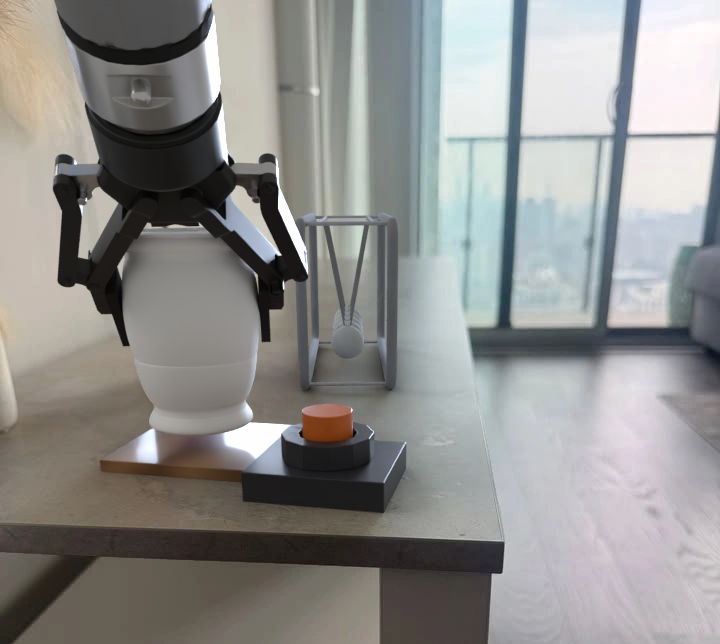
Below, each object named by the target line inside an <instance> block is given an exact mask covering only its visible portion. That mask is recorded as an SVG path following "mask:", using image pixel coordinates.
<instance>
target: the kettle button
mask: <svg viewBox="0 0 720 644" xmlns="http://www.w3.org/2000/svg"><path fill="white" fill-rule="evenodd" d="M353 412H354V411H353V409H352V407H350V406H347V405H345V404H344V405H343V404H339V403H338V404H337V403H320V404H319V403H318V404H313V405H309V406H306V407H304V408H302V410H301V423H302V433H303V438H304V439H308V440H311V441H322V442H332V441H342V440H346V439H349V438H352V437H353V422H354V416H353Z"/></svg>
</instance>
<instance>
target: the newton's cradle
mask: <svg viewBox="0 0 720 644" xmlns="http://www.w3.org/2000/svg"><path fill="white" fill-rule="evenodd" d="M374 219H376V221H375V220H374ZM317 220H318V221H317ZM294 223H295V225H296V227H297V230H298V232H299V234H300V237H301V239H302V241H303V244H304V246H305V247H306V227H307V228H308V255H309V256H308V259H309V292H310V294H309V295H310V326H311V329H310V330H311V335H310V336H311V337H310V338H311V339H310V345H309V321H308V319H309V318H308V317H309V316H308V287H307V286H308V285H307V283H308V282H307V280H306V281H304V282H296V281H295V304H296V305H295V306H296V307H295V308H296V328H297V329H296V335H297V336H296V337H297V361H298V363H297V364H298V382H299V387H300V389H302V390H304V391H307V390H309V389H310V387H361V386H362V387H366V386H369V387H371V386H373V387H375V386H379V387H380V386H385V387H386V388H387V389H389V390H394V389H395V388H396V385H397V381H398V380H397V379H398V378H397V377H398V315H399V313H398V312H399V311H398V310H399V309H398V308H399V307H398V304H399V303H398V302H399V301H398V300H399V223H398V220H397V218H395V217H393V216H392V215H389V214H387V213H385V212H379V213H378V214H376V215H374V214H373V215H370V214H369V215H366V214H365V215H317V214H315V213H313V212H309V213H307V214H305V215H302V216H301V217H298V218H296V219H295V221H294ZM318 226H319V227H323V229H324V234H325V240H326V246H327V250H328V254H329V260H330V264H331V269H332V275H333V281H334V284H335V288H336V295H337V299H338V304H339V309H338V310H337V312H336V313H335V315H334V318H333V323H332V324H333V325H332V333H331V339H330V340H320V311H319V310H320V305H319V304H320V303H319V299H320V297H319V265H318V260H319V259H318ZM336 226H337V227H339V226H341V227H342V226H343V227H344V226H345V227H346V226H348V227H349V226H352V227H353V226H358V227H359V226H363V230H362V235H361V240H360V247H359V252H358V257H357V263H356V268H355V274H354V281H353V286H352V292H351V297H350V303H349V304H346V301H345V296H344V291H343V287H342V280H341V277H340V272H339V267H338V261H337V255H336V251H335V247H334V246H335V245H334V241H333V236H332V231H331V227H336ZM370 226H376V232H377V233H376V340H375V339H374V340H373V339H372V340H365V339H364V329H363V319H362V318H363V317H362V314H361V313H360V311H359V310H358V309H356V301H357V295H358V291H359V285H360V280H361V275H362V274H361V273H362V268H363V262H364V257H365V252H366V246H367V245H366V244H367V239H368V235H369V229H370ZM321 344H326V345H327V344H330V345H331V348H332V350H333V352H334V354H335V355H336V356H338V357H339V358H341V359H346V360H351V359H355V358H357V357H358V356H359V355H360V354H361V352H362V351H363V349H364V346H365V344H377V348H378V353H379V358H380V364H381V368H382V373H383V378H384V381H334V382H333V381H328V382H327V381H325V382H323V381H321V382H319V381H318V382H315V381H314V382H312V379H313V374H314V370H315V365H316V360H317V355H318V350H319V346H320V345H321Z"/></svg>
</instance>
